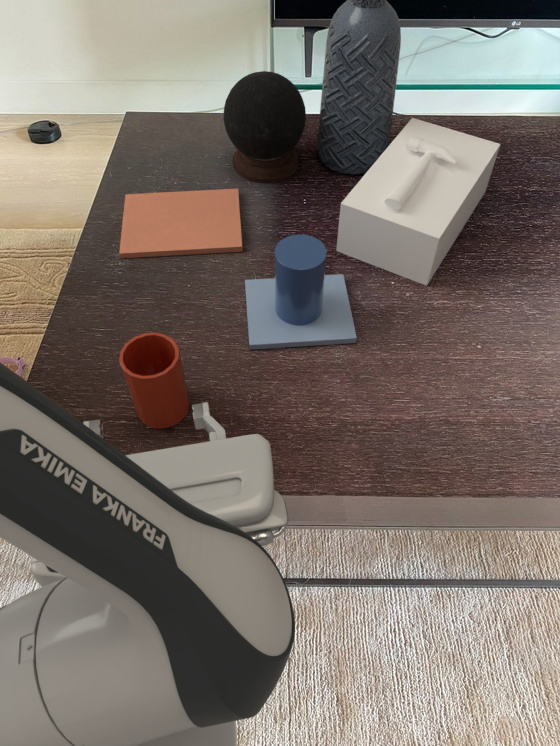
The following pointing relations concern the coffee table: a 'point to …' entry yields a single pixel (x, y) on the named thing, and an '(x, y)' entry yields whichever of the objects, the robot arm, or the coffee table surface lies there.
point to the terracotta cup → (155, 379)
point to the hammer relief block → (416, 199)
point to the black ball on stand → (264, 126)
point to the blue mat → (279, 334)
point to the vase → (358, 85)
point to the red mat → (181, 223)
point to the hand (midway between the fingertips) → (147, 415)
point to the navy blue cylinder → (299, 279)
